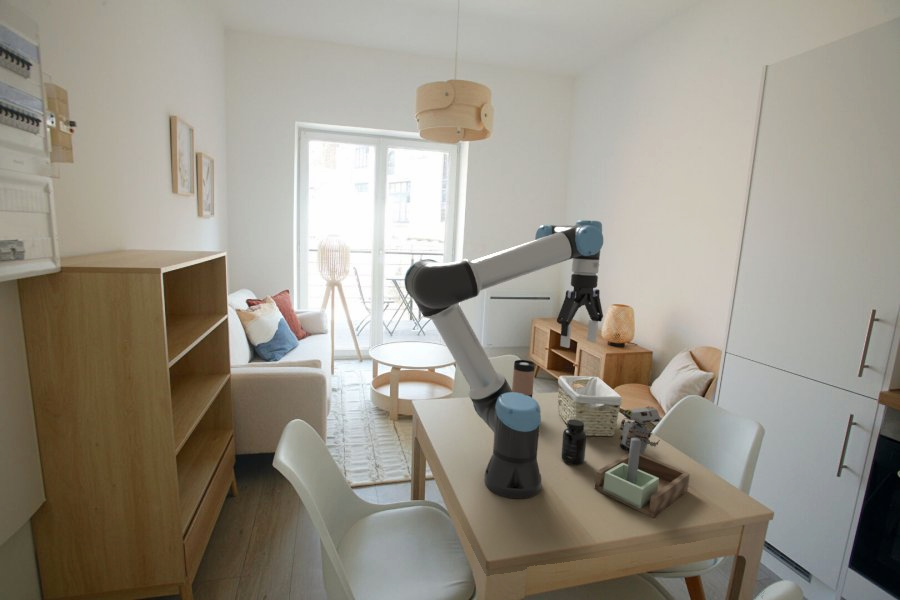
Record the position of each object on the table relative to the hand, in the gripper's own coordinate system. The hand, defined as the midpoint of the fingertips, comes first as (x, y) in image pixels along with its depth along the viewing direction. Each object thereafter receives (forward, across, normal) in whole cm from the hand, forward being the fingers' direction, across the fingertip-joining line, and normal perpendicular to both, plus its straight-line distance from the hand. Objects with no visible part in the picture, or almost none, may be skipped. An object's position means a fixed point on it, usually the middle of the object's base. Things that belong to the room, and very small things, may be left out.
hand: (578, 344), depth 138 cm
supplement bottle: (+35, -3, -3) cm, 35 cm away
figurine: (+35, +18, -13) cm, 42 cm away
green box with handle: (+34, -8, -25) cm, 42 cm away
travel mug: (+35, +11, +30) cm, 47 cm away
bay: (+35, -2, -24) cm, 43 cm away
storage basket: (+35, +25, +11) cm, 44 cm away
